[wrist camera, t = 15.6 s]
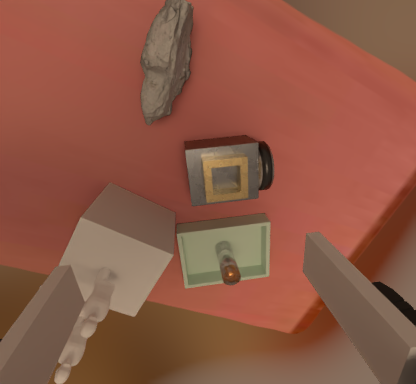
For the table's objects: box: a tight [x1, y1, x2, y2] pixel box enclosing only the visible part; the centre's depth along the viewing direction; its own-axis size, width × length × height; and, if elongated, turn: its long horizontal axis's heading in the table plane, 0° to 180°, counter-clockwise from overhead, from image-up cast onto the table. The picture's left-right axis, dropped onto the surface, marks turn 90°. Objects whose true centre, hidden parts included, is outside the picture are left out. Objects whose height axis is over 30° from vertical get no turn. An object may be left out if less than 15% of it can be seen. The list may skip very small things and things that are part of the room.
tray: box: [177, 213, 270, 288], centre depth 53 cm, size 20×15×4 cm
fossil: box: [140, 0, 193, 125], centre depth 33 cm, size 17×7×15 cm, turn 158°
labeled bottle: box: [215, 241, 241, 285], centre depth 50 cm, size 4×4×10 cm
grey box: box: [40, 182, 176, 384], centre depth 39 cm, size 15×18×25 cm
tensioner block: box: [184, 135, 274, 206], centre depth 42 cm, size 15×10×10 cm, turn 95°
